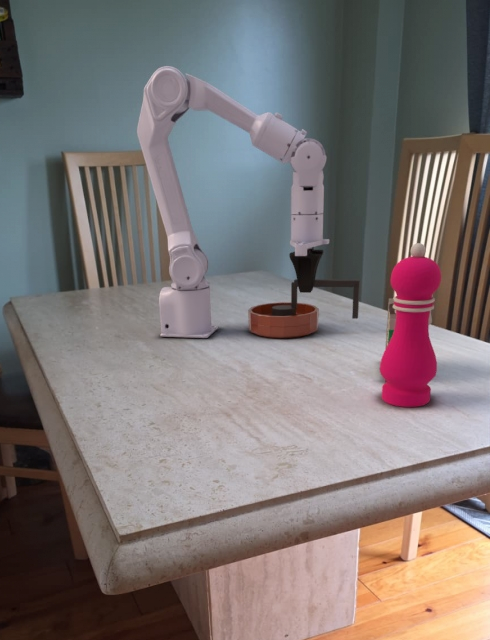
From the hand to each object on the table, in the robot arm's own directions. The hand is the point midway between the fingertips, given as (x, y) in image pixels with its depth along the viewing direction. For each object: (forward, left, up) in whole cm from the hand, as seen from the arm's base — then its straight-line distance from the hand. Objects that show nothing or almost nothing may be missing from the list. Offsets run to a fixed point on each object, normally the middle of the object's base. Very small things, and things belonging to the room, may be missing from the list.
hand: (306, 291), depth 116 cm
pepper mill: (+19, -36, -8) cm, 41 cm away
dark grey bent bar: (+2, 0, -5) cm, 5 cm away
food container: (+19, -24, -8) cm, 31 cm away
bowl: (-4, 0, -8) cm, 9 cm away
